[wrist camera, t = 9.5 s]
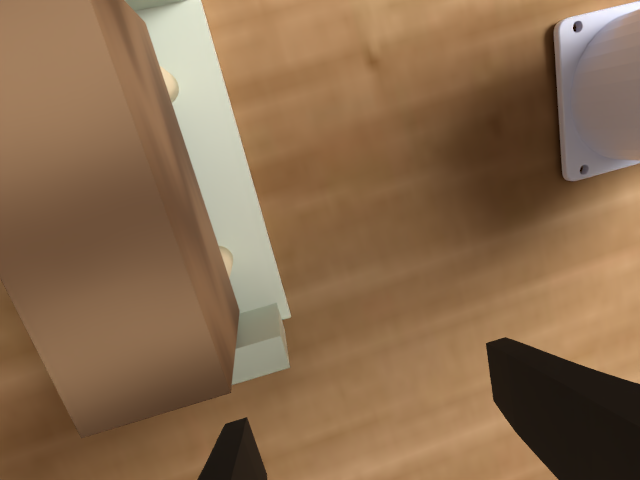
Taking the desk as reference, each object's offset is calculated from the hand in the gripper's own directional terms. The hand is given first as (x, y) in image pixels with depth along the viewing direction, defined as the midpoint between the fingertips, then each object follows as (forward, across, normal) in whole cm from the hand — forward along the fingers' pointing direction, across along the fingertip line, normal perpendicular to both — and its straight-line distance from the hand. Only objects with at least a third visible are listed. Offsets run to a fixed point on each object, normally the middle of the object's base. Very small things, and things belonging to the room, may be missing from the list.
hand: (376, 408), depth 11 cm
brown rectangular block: (+7, +6, -7) cm, 12 cm away
